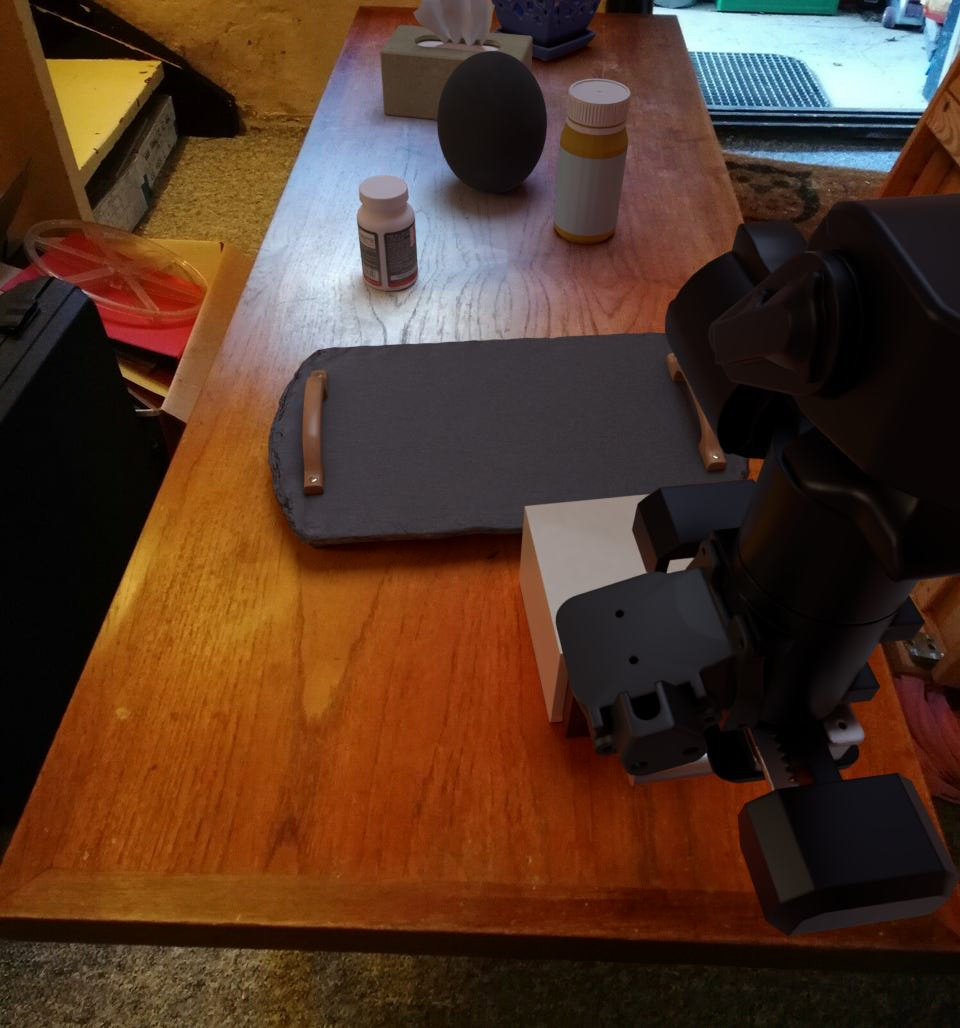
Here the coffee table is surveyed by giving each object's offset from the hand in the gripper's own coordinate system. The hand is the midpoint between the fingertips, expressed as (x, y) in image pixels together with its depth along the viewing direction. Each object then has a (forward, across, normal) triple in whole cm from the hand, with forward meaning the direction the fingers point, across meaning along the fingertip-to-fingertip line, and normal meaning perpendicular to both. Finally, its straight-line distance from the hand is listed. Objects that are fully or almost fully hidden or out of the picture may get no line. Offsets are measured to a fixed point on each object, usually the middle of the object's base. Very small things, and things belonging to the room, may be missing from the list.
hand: (720, 765), depth 40 cm
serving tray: (+12, -35, -4) cm, 37 cm away
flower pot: (+12, -123, +16) cm, 124 cm away
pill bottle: (+12, -62, -12) cm, 64 cm away
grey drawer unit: (+12, -15, 0) cm, 19 cm away
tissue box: (+12, -103, 0) cm, 103 cm away
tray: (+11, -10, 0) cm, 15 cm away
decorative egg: (+12, -79, +1) cm, 80 cm away
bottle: (+12, -69, +10) cm, 71 cm away
